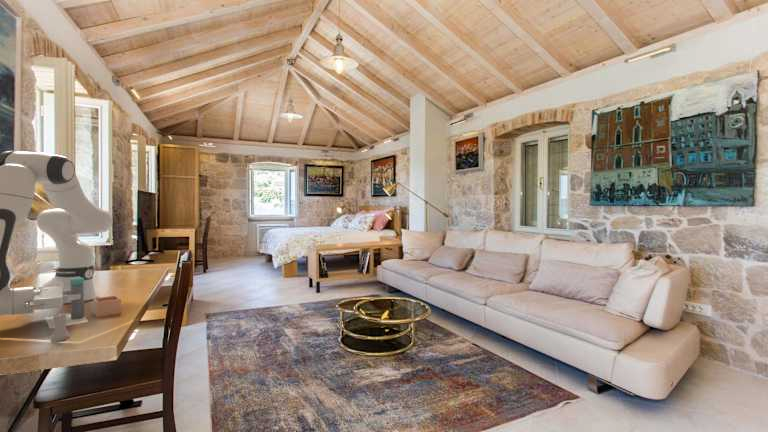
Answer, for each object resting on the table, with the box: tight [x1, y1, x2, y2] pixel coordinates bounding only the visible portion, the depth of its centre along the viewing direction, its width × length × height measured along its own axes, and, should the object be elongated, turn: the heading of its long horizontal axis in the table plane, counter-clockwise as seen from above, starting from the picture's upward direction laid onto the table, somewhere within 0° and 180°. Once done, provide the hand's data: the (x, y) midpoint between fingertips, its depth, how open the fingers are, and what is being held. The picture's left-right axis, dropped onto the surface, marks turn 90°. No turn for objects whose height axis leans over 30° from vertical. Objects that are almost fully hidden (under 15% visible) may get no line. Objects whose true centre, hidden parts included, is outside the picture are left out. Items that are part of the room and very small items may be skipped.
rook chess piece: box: [50, 312, 70, 344], centre depth 113 cm, size 4×4×8 cm
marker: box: [70, 278, 85, 319], centre depth 132 cm, size 4×4×14 cm
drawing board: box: [45, 313, 89, 329], centre depth 130 cm, size 20×13×1 cm, turn 46°
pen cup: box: [92, 295, 122, 318], centre depth 139 cm, size 7×7×6 cm
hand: (80, 294), depth 133 cm, fingers open, 5 cm apart
